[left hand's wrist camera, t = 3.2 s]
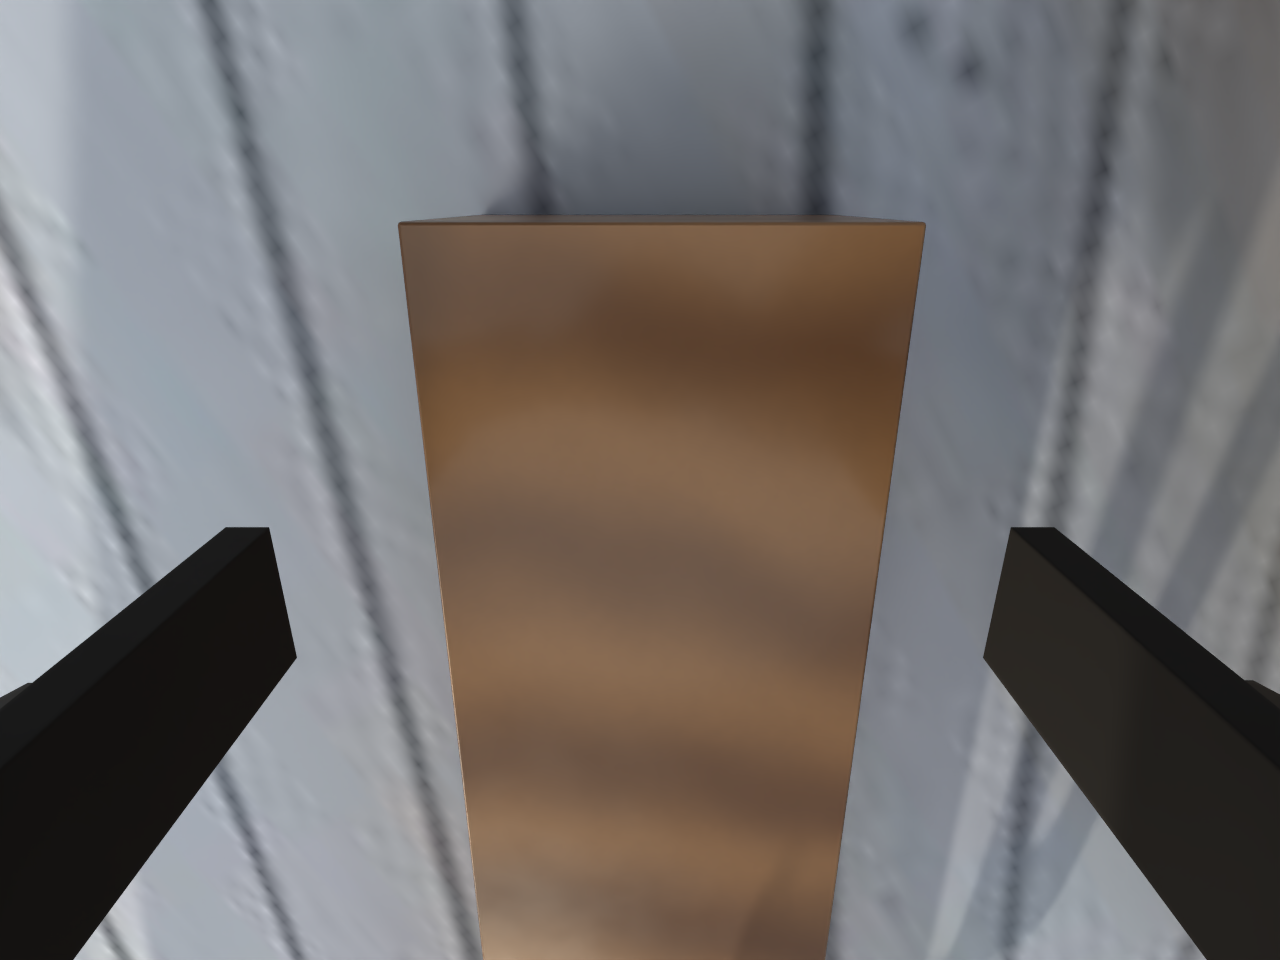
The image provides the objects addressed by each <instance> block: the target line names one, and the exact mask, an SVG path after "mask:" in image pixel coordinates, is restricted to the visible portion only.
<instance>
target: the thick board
mask: <svg viewBox="0 0 1280 960" xmlns="http://www.w3.org/2000/svg"><path fill="white" fill-rule="evenodd" d="M925 228H926V224H925V223H924V222H916V221H903V220H891V219H878V218H865V217H852V216H840V215H474V216H463V217H451V218H439V219H428V220H416V221H404V222H400V223H399V224H398V230H399V239H400V248H401V256H402V265H403V273H404V282H405V291H406V299H407V308H408V316H409V325H410V334H411V342H412V351H413V359H414V368H415V377H416V385H417V394H418V402H419V411H420V420H421V428H422V437H423V445H424V454H425V463H426V471H427V480H428V488H429V497H430V506H431V514H432V523H433V532H434V540H435V549H436V557H437V566H438V575H439V583H440V592H441V600H442V609H443V618H444V626H445V635H446V643H447V652H448V661H449V669H450V678H451V686H452V695H453V704H454V712H455V721H456V729H457V738H458V747H459V755H460V764H461V772H462V781H463V790H464V798H465V807H466V815H467V824H468V833H469V841H470V850H471V858H472V867H473V876H474V884H475V893H476V901H477V910H478V919H479V927H480V936H481V945H482V953H483V960H825V956H826V948H827V941H828V934H829V927H830V919H831V912H832V905H833V898H834V890H835V883H836V876H837V868H838V861H839V854H840V847H841V839H842V832H843V825H844V818H845V810H846V803H847V796H848V788H849V781H850V774H851V767H852V759H853V752H854V745H855V738H856V730H857V723H858V716H859V708H860V701H861V694H862V687H863V679H864V672H865V665H866V658H867V650H868V643H869V636H870V628H871V621H872V614H873V607H874V599H875V592H876V585H877V578H878V570H879V563H880V556H881V548H882V541H883V534H884V527H885V519H886V512H887V505H888V498H889V490H890V483H891V476H892V468H893V461H894V454H895V447H896V439H897V432H898V425H899V418H900V410H901V403H902V396H903V388H904V381H905V374H906V367H907V359H908V352H909V345H910V338H911V330H912V323H913V316H914V308H915V301H916V294H917V287H918V279H919V272H920V265H921V258H922V250H923V243H924V236H925Z"/></svg>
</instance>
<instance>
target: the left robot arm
mask: <svg viewBox="0 0 1280 960" xmlns="http://www.w3.org/2000/svg"><path fill="white" fill-rule="evenodd" d="M296 658H297V656H296V651H295V647H294V642H293V637H292V633H291V628H290V623H289V619H288V614H287V609H286V605H285V600H284V595H283V591H282V586H281V581H280V576H279V572H278V567H277V562H276V558H275V553H274V548H273V544H272V539H271V534H270V530H269V527H226V528H224V529H223V530H222V531H221V532H219V533H218V534H217V535H216V536H214V537H213V538H212V539H211V540H209V541H208V542H207V543H206V544H204V545H203V546H202V547H201V548H199V549H198V550H197V551H196V552H195V553H193V554H192V555H191V556H190V557H188V558H187V559H186V560H185V561H183V562H182V563H181V564H180V565H178V566H177V567H176V568H175V569H173V570H172V571H171V572H170V573H168V574H167V575H166V576H165V577H163V578H162V579H161V580H160V581H158V582H157V583H156V584H155V585H153V586H152V587H151V588H150V589H149V590H147V591H146V592H145V593H144V594H142V595H141V596H140V597H139V598H137V599H136V600H135V601H134V602H132V603H131V604H130V605H129V606H127V607H126V608H125V609H124V610H122V611H121V612H120V613H119V614H117V615H116V616H115V617H114V618H112V619H111V620H110V621H109V622H107V623H106V624H105V625H104V626H103V627H101V628H100V629H99V630H98V631H96V632H95V633H94V634H93V635H91V636H90V637H89V638H88V639H86V640H85V641H84V642H83V643H81V644H80V645H79V646H78V647H76V648H75V649H74V650H73V651H71V652H70V653H69V654H68V655H66V656H65V657H64V658H63V659H61V660H60V661H59V662H58V663H57V664H55V665H54V666H53V667H52V668H50V669H49V670H48V671H47V672H45V673H44V674H43V675H42V676H40V677H39V678H38V679H37V680H35V681H34V682H33V683H27V684H25V685H23V686H21V687H19V688H17V689H15V690H14V691H12V692H10V693H8V694H6V695H4V696H2V697H0V960H73V959H74V958H75V957H76V955H77V954H78V953H79V951H80V950H81V949H82V947H83V946H84V945H85V943H86V942H87V940H88V939H89V938H90V936H91V935H92V934H93V932H94V931H95V930H96V928H97V927H98V926H99V924H100V923H101V922H102V920H103V919H104V917H105V916H106V915H107V913H108V912H109V911H110V909H111V908H112V907H113V905H114V904H115V903H116V901H117V900H118V899H119V897H120V896H121V895H122V893H123V892H124V890H125V889H126V888H127V886H128V885H129V884H130V882H131V881H132V880H133V878H134V877H135V876H136V874H137V873H138V872H139V870H140V869H141V868H142V866H143V865H144V863H145V862H146V861H147V859H148V858H149V857H150V855H151V854H152V853H153V851H154V850H155V849H156V847H157V846H158V845H159V843H160V842H161V840H162V839H163V838H164V836H165V835H166V834H167V832H168V831H169V830H170V828H171V827H172V826H173V824H174V823H175V822H176V820H177V819H178V818H179V816H180V815H181V813H182V812H183V811H184V809H185V808H186V807H187V805H188V804H189V803H190V801H191V800H192V799H193V797H194V796H195V795H196V793H197V792H198V791H199V789H200V788H201V786H202V785H203V784H204V782H205V781H206V780H207V778H208V777H209V776H210V774H211V773H212V772H213V770H214V769H215V768H216V766H217V765H218V763H219V762H220V761H221V759H222V758H223V757H224V755H225V754H226V753H227V751H228V750H229V749H230V747H231V746H232V745H233V743H234V742H235V741H236V739H237V738H238V736H239V735H240V734H241V732H242V731H243V730H244V728H245V727H246V726H247V724H248V723H249V722H250V720H251V719H252V718H253V716H254V715H255V714H256V712H257V711H258V709H259V708H260V707H261V705H262V704H263V703H264V701H265V700H266V699H267V697H268V696H269V695H270V693H271V692H272V691H273V689H274V688H275V687H276V685H277V684H278V682H279V681H280V680H281V678H282V677H283V676H284V674H285V673H286V672H287V670H288V669H289V668H290V666H291V665H292V664H293V662H294V661H295V659H296ZM983 658H984V659H985V661H986V662H987V664H988V665H989V666H990V668H991V669H992V670H993V672H994V673H995V674H996V676H997V677H998V678H999V680H1000V681H1001V682H1002V684H1003V685H1004V687H1005V688H1006V689H1007V691H1008V692H1009V693H1010V695H1011V696H1012V697H1013V699H1014V700H1015V701H1016V703H1017V704H1018V705H1019V707H1020V708H1021V709H1022V711H1023V712H1024V714H1025V715H1026V716H1027V718H1028V719H1029V720H1030V722H1031V723H1032V724H1033V726H1034V727H1035V728H1036V730H1037V731H1038V732H1039V734H1040V735H1041V736H1042V738H1043V739H1044V741H1045V742H1046V743H1047V745H1048V746H1049V747H1050V749H1051V750H1052V751H1053V753H1054V754H1055V755H1056V757H1057V758H1058V759H1059V761H1060V762H1061V763H1062V765H1063V766H1064V768H1065V769H1066V770H1067V772H1068V773H1069V774H1070V776H1071V777H1072V778H1073V780H1074V781H1075V782H1076V784H1077V785H1078V786H1079V788H1080V789H1081V791H1082V792H1083V793H1084V795H1085V796H1086V797H1087V799H1088V800H1089V801H1090V803H1091V804H1092V805H1093V807H1094V808H1095V809H1096V811H1097V812H1098V813H1099V815H1100V816H1101V818H1102V819H1103V820H1104V822H1105V823H1106V824H1107V826H1108V827H1109V828H1110V830H1111V831H1112V832H1113V834H1114V835H1115V836H1116V838H1117V839H1118V840H1119V842H1120V843H1121V845H1122V846H1123V847H1124V849H1125V850H1126V851H1127V853H1128V854H1129V855H1130V857H1131V858H1132V859H1133V861H1134V862H1135V863H1136V865H1137V866H1138V868H1139V869H1140V870H1141V872H1142V873H1143V874H1144V876H1145V877H1146V878H1147V880H1148V881H1149V882H1150V884H1151V885H1152V886H1153V888H1154V889H1155V890H1156V892H1157V893H1158V895H1159V896H1160V897H1161V899H1162V900H1163V901H1164V903H1165V904H1166V905H1167V907H1168V908H1169V909H1170V911H1171V912H1172V913H1173V915H1174V916H1175V917H1176V919H1177V920H1178V922H1179V923H1180V924H1181V926H1182V927H1183V928H1184V930H1185V931H1186V932H1187V934H1188V935H1189V936H1190V938H1191V939H1192V940H1193V942H1194V943H1195V945H1196V946H1197V947H1198V949H1199V950H1200V951H1201V953H1202V954H1203V955H1204V957H1205V958H1206V959H1207V960H1280V694H1278V693H1276V692H1274V691H1272V690H1270V689H1268V688H1266V687H1265V686H1263V685H1261V684H1259V683H1257V682H1255V681H1253V680H1243V679H1242V678H1241V677H1240V676H1238V675H1237V674H1236V673H1235V672H1233V671H1232V670H1231V669H1230V668H1228V667H1227V666H1226V665H1225V664H1223V663H1222V662H1221V661H1220V660H1219V659H1217V658H1216V657H1215V656H1214V655H1212V654H1211V653H1210V652H1209V651H1207V650H1206V649H1205V648H1204V647H1202V646H1201V645H1200V644H1199V643H1197V642H1196V641H1195V640H1194V639H1192V638H1191V637H1190V636H1189V635H1187V634H1186V633H1185V632H1184V631H1182V630H1181V629H1180V628H1179V627H1177V626H1176V625H1175V624H1174V623H1173V622H1171V621H1170V620H1169V619H1168V618H1166V617H1165V616H1164V615H1163V614H1161V613H1160V612H1159V611H1158V610H1156V609H1155V608H1154V607H1153V606H1151V605H1150V604H1149V603H1148V602H1146V601H1145V600H1144V599H1143V598H1141V597H1140V596H1139V595H1138V594H1136V593H1135V592H1134V591H1133V590H1131V589H1130V588H1129V587H1128V586H1127V585H1125V584H1124V583H1123V582H1122V581H1120V580H1119V579H1118V578H1117V577H1115V576H1114V575H1113V574H1112V573H1110V572H1109V571H1108V570H1107V569H1105V568H1104V567H1103V566H1102V565H1100V564H1099V563H1098V562H1097V561H1095V560H1094V559H1093V558H1092V557H1090V556H1089V555H1088V554H1087V553H1085V552H1084V551H1083V550H1082V549H1081V548H1079V547H1078V546H1077V545H1076V544H1074V543H1073V542H1072V541H1071V540H1069V539H1068V538H1067V537H1066V536H1064V535H1063V534H1062V533H1061V532H1059V531H1058V530H1057V529H1056V528H1054V527H1011V530H1010V534H1009V539H1008V544H1007V548H1006V553H1005V558H1004V562H1003V567H1002V572H1001V576H1000V581H999V586H998V591H997V595H996V600H995V605H994V609H993V614H992V619H991V623H990V628H989V633H988V637H987V642H986V647H985V651H984V656H983Z"/></svg>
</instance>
